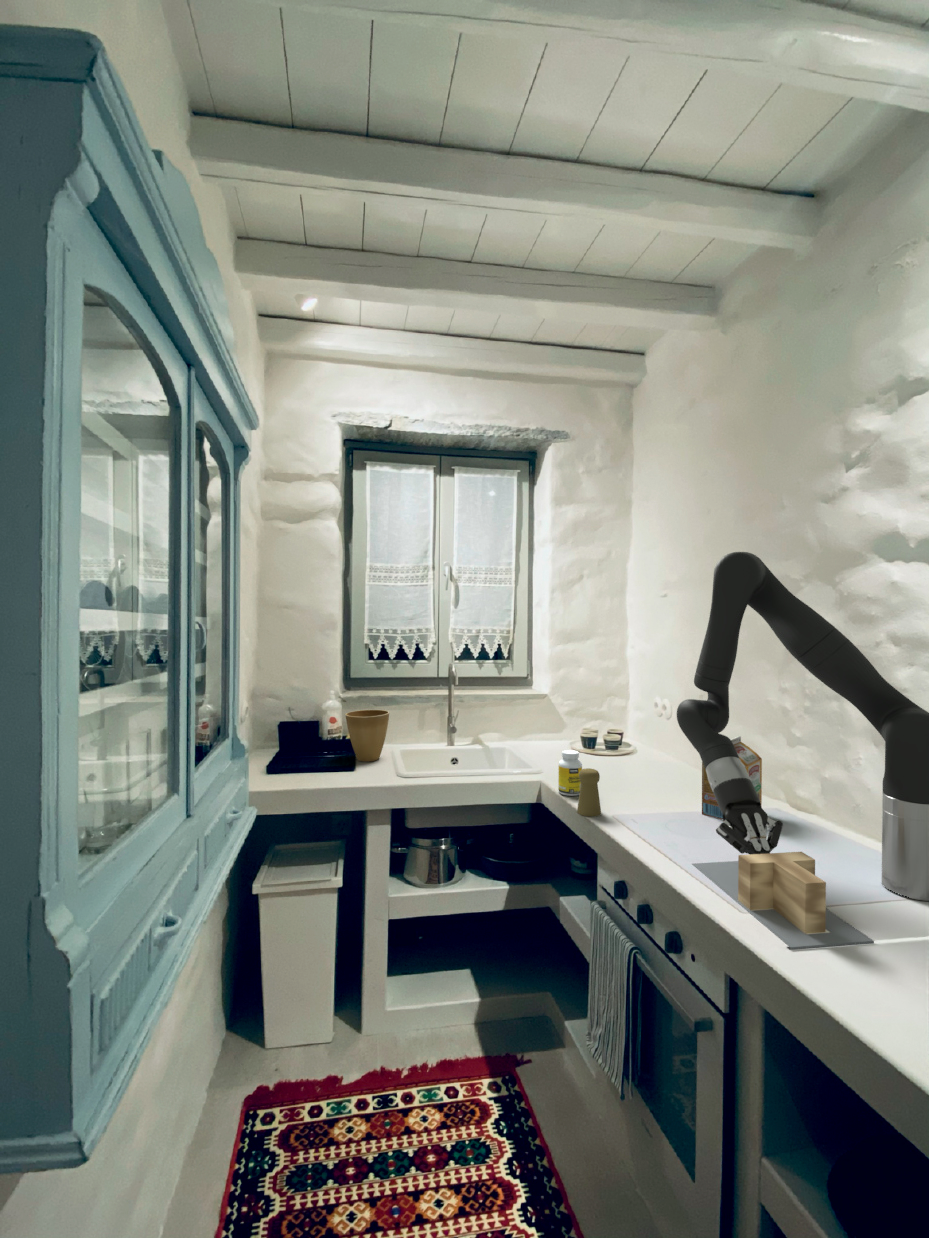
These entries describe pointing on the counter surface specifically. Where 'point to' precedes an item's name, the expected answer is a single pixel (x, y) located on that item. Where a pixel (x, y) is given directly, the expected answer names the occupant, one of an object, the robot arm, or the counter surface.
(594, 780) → the tan rounded upright piece
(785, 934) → the slate mat
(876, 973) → the counter surface
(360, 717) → the plant pot
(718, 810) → the milk carton
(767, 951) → the counter surface
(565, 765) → the pill bottle
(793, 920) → the oak T block
